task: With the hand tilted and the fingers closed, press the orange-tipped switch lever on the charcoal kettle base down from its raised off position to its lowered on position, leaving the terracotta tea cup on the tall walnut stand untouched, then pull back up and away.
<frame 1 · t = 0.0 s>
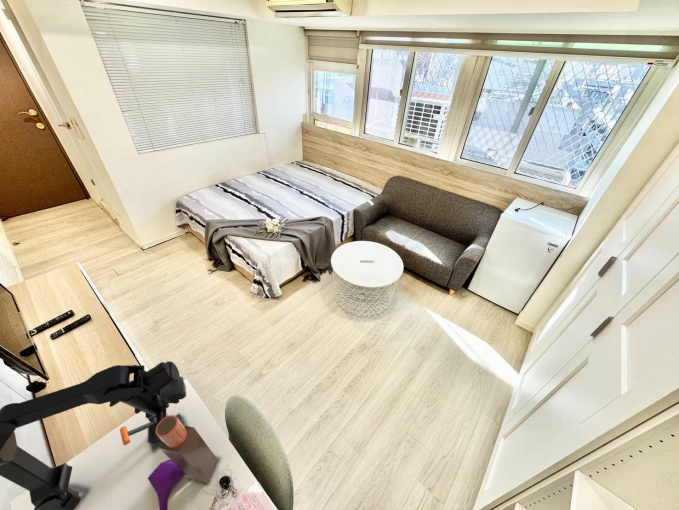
hand: (178, 415, 83), 16 cm above the table, tool pointing down, fingers open, 8 cm apart
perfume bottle: (171, 460, 81), point 6 cm above the table
cup stand: (204, 469, 84), on the table
switch lever: (143, 427, 86), point 10 cm above the table, hinge at 24.0°
tea cup: (177, 437, 71), point 24 cm above the table, touching cup stand
kettle base: (168, 431, 93), on the table
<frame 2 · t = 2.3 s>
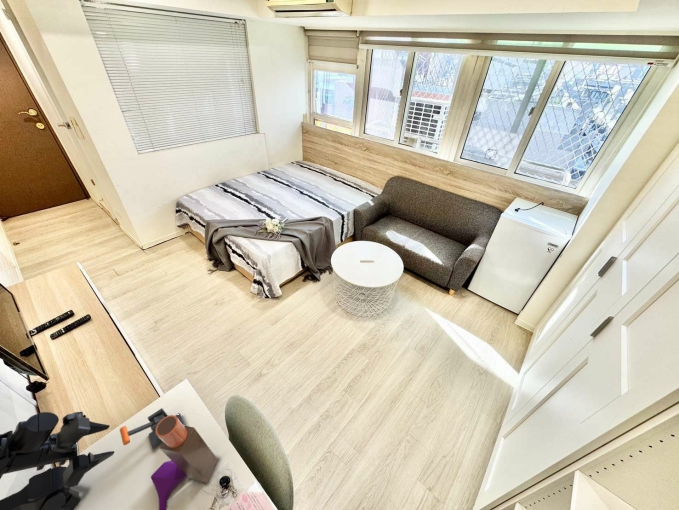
hand: (111, 439, 79), 14 cm above the table, tool tilted 45°, fingers open, 9 cm apart
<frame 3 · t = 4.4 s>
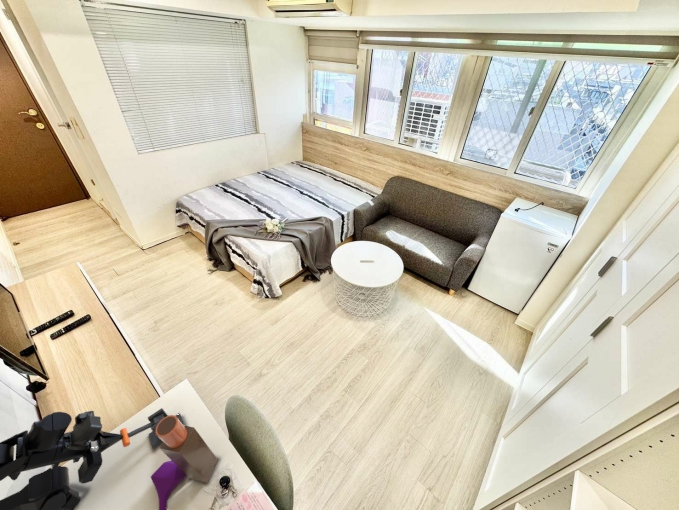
hand: (122, 437, 82), 12 cm above the table, tool tilted 45°, fingers closed, pressing on switch lever
switch lever: (143, 428, 86), point 9 cm above the table, hinge at 18.6°, touching gripper
everything else where it was.
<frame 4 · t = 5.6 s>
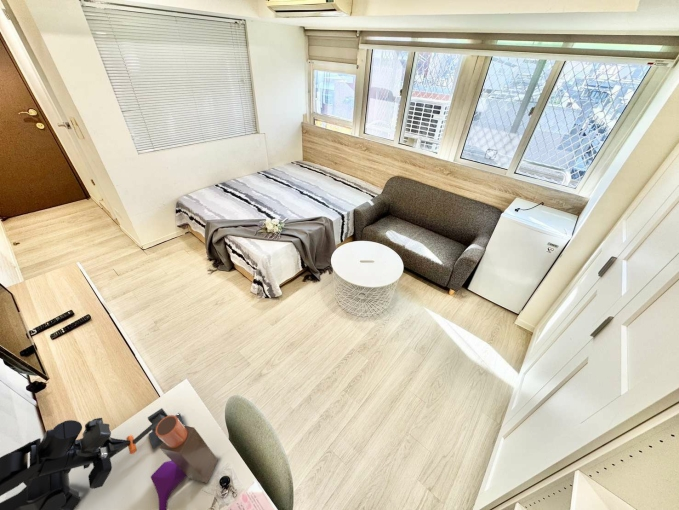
hand: (130, 442, 84), 7 cm above the table, tool tilted 45°, fingers closed, pressing on switch lever
switch lever: (146, 431, 87), point 7 cm above the table, hinge at -13.4°, touching gripper
everything else where it was.
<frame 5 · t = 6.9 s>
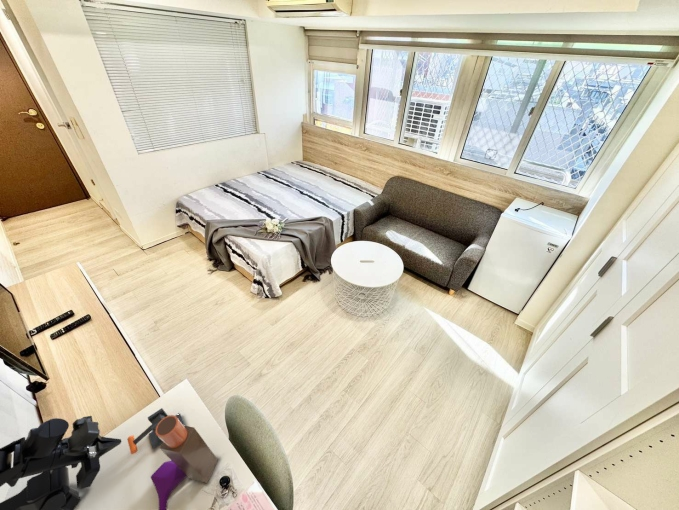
hand: (120, 441, 82), 10 cm above the table, tool tilted 45°, fingers closed
switch lever: (146, 431, 87), point 7 cm above the table, hinge at -16.0°
everything else where it was.
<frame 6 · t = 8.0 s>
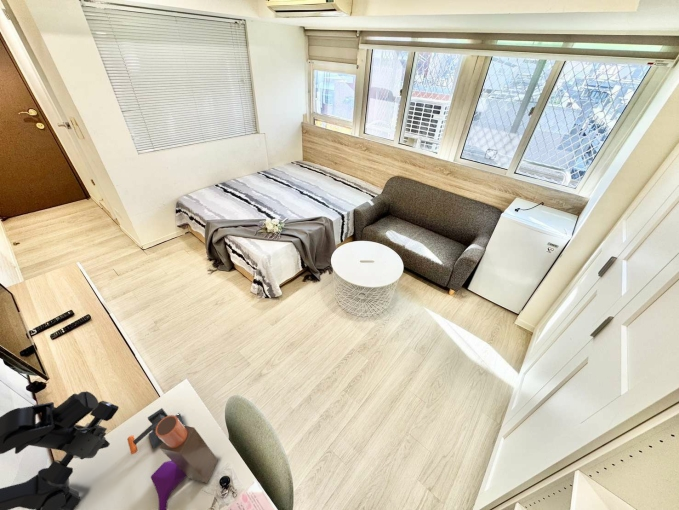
hand: (108, 444, 79), 12 cm above the table, tool tilted 15°, fingers closed
nothing on the table moved.
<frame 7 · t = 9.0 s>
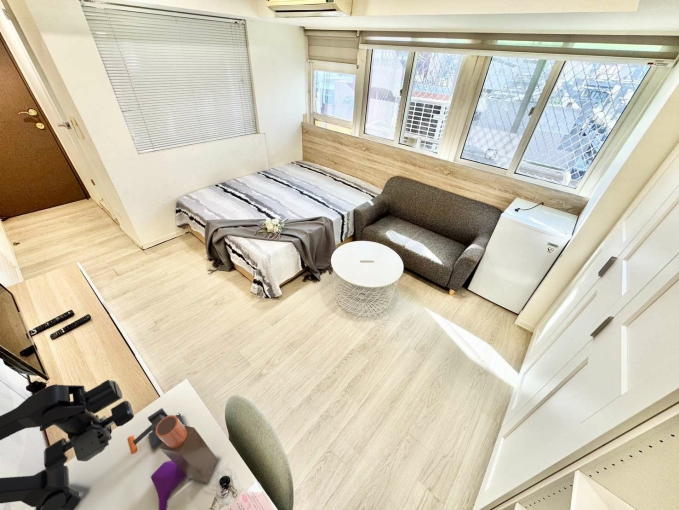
hand: (107, 444, 79), 13 cm above the table, tool pointing down, fingers closed
nothing on the table moved.
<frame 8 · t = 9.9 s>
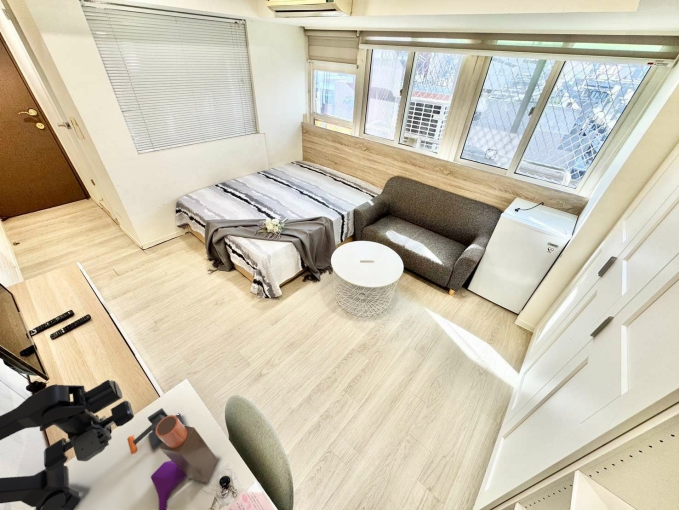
hand: (107, 444, 79), 13 cm above the table, tool pointing down, fingers closed
nothing on the table moved.
at the end: switch lever at -16° (first picture: +24°); tea cup tilted 0°; tea cup moved 0.0 cm from its start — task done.
